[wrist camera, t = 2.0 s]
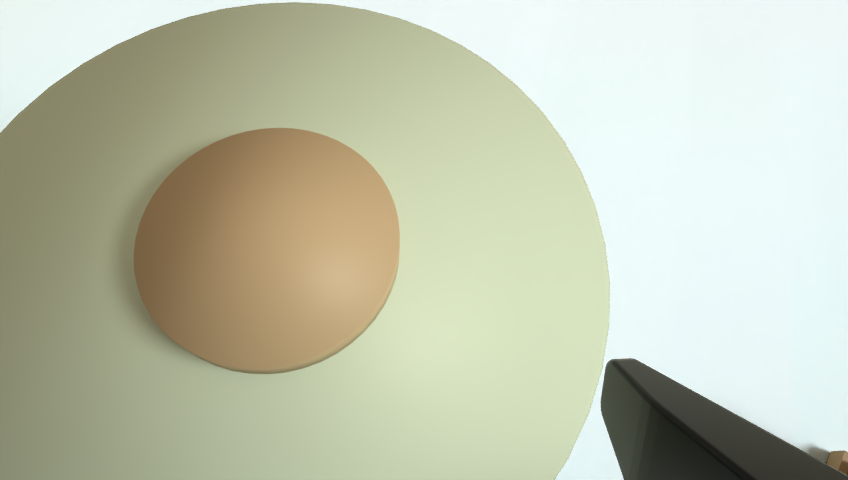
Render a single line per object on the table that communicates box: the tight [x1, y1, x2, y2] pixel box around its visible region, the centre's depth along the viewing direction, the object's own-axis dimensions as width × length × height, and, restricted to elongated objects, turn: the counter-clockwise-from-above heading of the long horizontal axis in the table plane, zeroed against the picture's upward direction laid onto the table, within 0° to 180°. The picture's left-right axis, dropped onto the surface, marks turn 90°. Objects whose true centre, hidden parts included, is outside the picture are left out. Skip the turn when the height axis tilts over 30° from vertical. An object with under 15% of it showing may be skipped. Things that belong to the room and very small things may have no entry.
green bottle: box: [0, 2, 610, 480], centre depth 11 cm, size 6×6×13 cm
